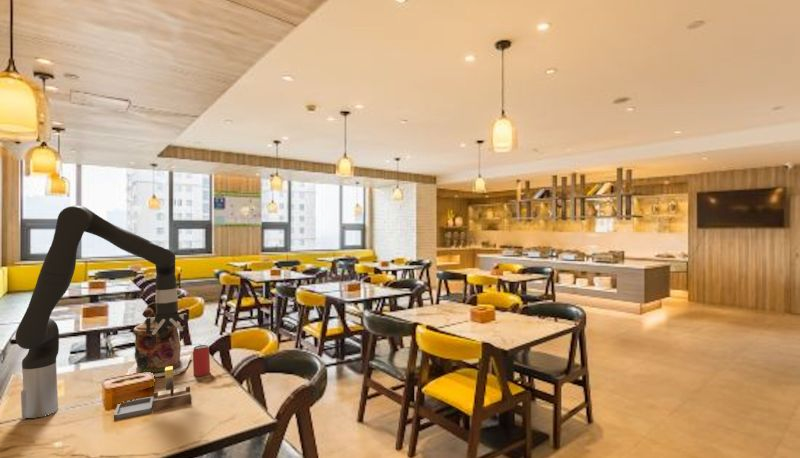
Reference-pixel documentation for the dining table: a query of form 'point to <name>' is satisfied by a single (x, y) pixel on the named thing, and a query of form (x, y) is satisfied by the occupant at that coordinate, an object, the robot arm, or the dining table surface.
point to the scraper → (169, 377)
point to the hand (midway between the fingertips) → (168, 342)
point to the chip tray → (134, 408)
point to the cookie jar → (157, 348)
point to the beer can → (201, 360)
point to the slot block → (171, 400)
